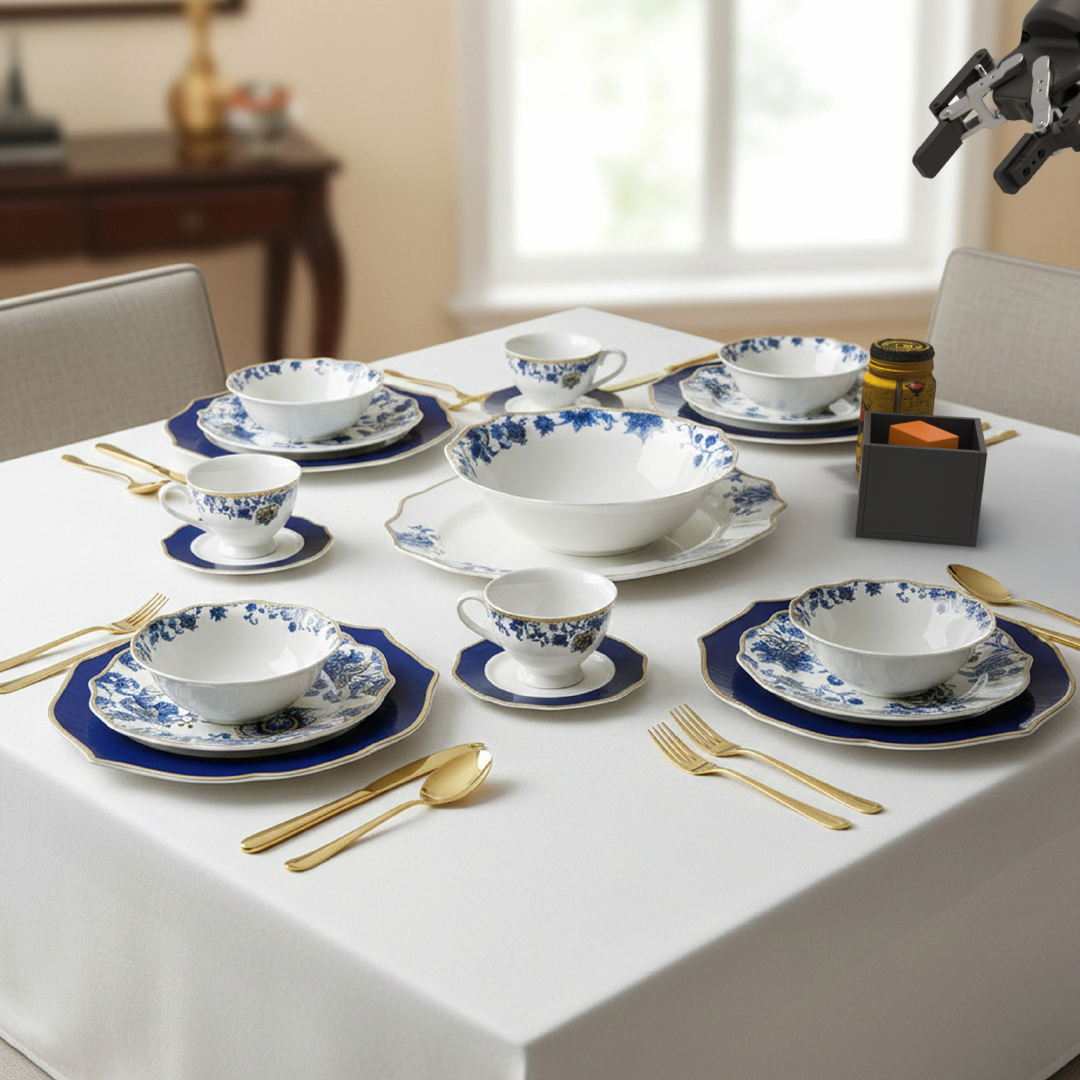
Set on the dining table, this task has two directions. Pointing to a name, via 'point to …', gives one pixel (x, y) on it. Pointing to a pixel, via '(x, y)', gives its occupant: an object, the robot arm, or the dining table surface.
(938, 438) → the block
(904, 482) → the bin
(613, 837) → the dining table surface
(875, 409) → the condiment
